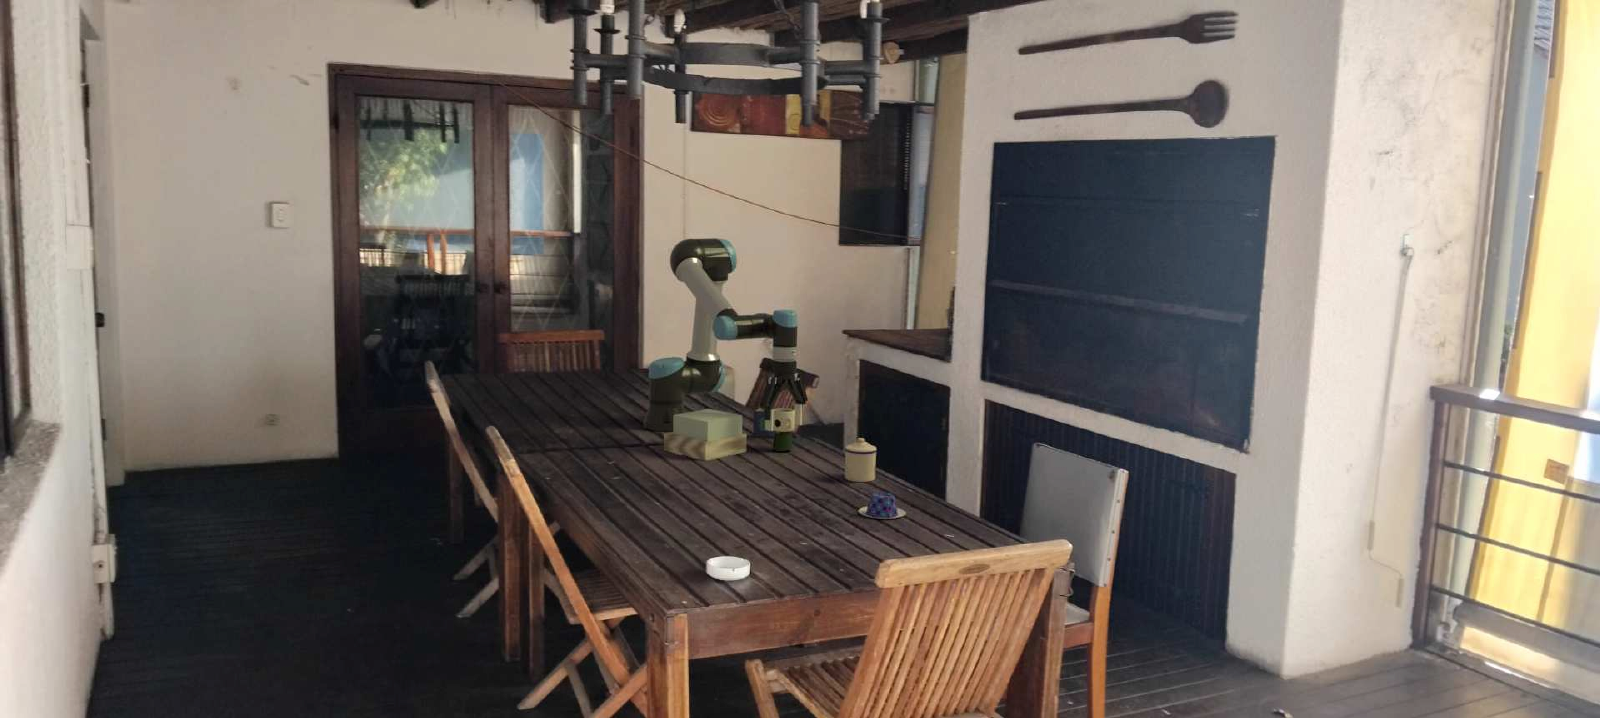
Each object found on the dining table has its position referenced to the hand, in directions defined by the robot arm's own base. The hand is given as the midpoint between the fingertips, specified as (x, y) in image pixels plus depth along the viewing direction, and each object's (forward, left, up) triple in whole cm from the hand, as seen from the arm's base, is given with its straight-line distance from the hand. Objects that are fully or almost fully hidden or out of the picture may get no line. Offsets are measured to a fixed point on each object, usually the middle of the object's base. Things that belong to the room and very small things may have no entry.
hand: (783, 427), depth 371 cm
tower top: (-16, -18, -2) cm, 24 cm away
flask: (-18, +12, -8) cm, 23 cm away
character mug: (0, 0, -8) cm, 8 cm away
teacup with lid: (+38, -11, -8) cm, 40 cm away
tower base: (-16, -18, -8) cm, 26 cm away
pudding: (+66, -37, -8) cm, 76 cm away
